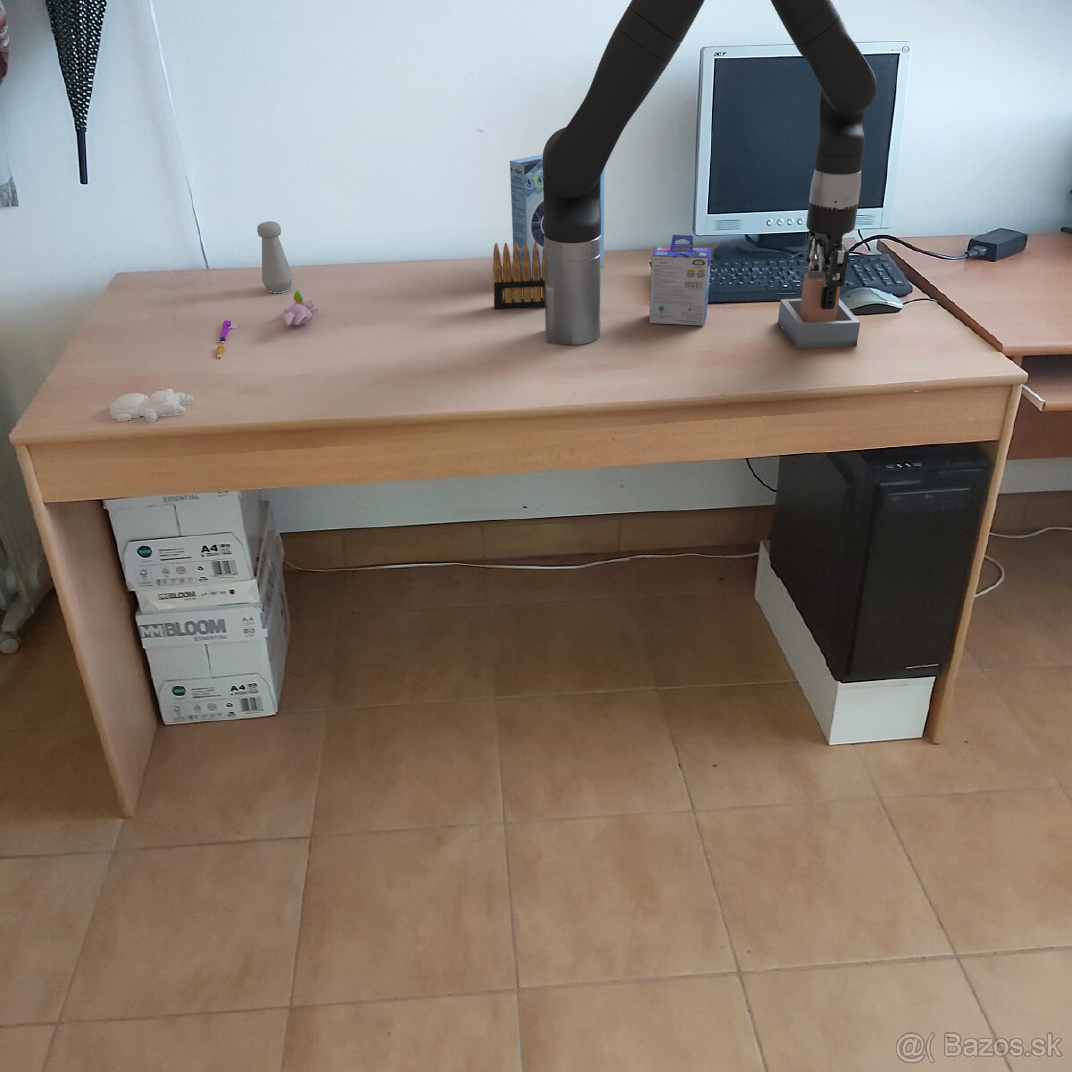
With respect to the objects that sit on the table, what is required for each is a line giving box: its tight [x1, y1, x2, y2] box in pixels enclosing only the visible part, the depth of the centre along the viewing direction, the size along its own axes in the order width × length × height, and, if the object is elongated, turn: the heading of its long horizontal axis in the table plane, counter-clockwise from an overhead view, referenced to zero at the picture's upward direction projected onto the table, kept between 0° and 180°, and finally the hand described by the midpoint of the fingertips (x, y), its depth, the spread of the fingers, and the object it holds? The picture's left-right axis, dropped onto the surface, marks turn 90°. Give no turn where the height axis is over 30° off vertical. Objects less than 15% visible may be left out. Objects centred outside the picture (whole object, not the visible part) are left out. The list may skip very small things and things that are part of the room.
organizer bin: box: [777, 297, 861, 349], centre depth 169 cm, size 10×12×4 cm
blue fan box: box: [509, 153, 605, 278], centre depth 193 cm, size 20×5×23 cm, turn 127°
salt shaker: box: [256, 220, 294, 292], centre depth 192 cm, size 6×6×13 cm
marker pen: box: [216, 319, 232, 358], centre depth 175 cm, size 3×1×16 cm
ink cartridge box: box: [648, 234, 712, 327], centre depth 173 cm, size 10×6×14 cm, turn 78°
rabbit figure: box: [282, 289, 320, 326], centre depth 179 cm, size 6×6×15 cm
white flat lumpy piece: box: [108, 388, 195, 421], centre depth 152 cm, size 9×12×3 cm
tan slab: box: [799, 270, 842, 323], centre depth 167 cm, size 5×4×10 cm
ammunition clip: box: [492, 241, 545, 311], centre depth 182 cm, size 11×2×12 cm, turn 93°
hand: (820, 300), depth 167 cm, fingers open, 6 cm apart
